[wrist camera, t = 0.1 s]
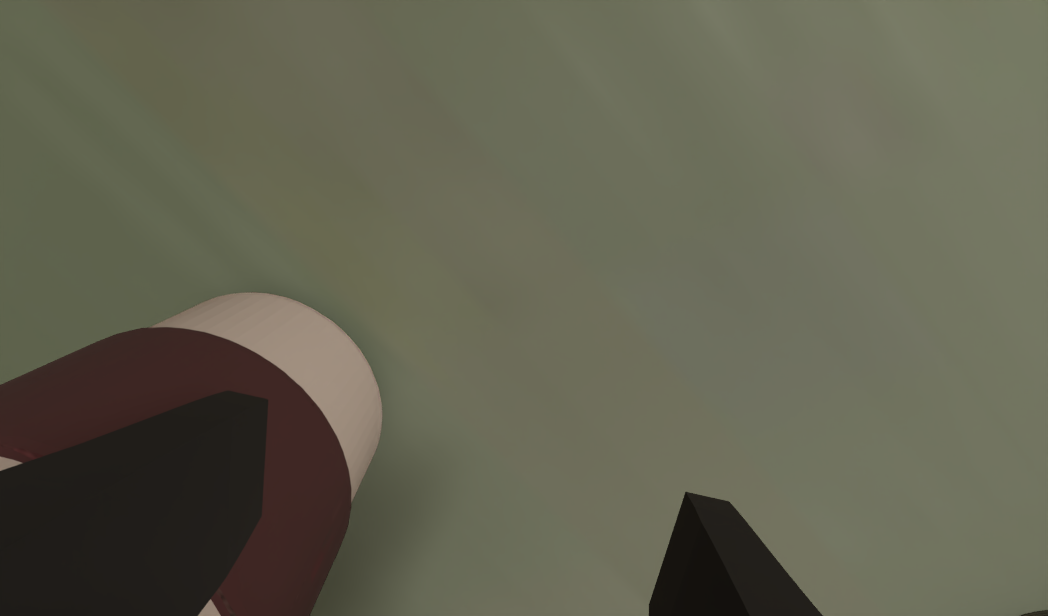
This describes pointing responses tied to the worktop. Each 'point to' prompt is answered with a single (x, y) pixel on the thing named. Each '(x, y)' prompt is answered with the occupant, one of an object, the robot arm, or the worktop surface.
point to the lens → (1037, 613)
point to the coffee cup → (240, 366)
